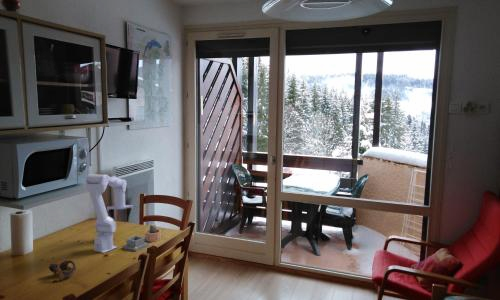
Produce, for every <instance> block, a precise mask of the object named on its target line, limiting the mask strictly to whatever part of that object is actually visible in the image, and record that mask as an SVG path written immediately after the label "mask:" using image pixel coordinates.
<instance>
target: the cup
mask: <svg viewBox="0 0 500 300" xmlns="http://www.w3.org/2000/svg"><path fill="white" fill-rule="evenodd" d="M144 238H145V241H146V242H147V243H154V242H159V241H160V240H161V239H162V231H161V229H159V228H156V233H150V228H149V229H146V230H145V232H144Z"/></svg>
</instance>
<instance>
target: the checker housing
mask: <svg viewBox="0 0 500 300" xmlns="http://www.w3.org/2000/svg"><path fill="white" fill-rule="evenodd" d="M135 240H136V241H135ZM145 241H146V240H145V236H144V237H143V236H139V235H133V236H131V237H128V238H126V243H125V244H123V245H122V249H124V250H128V251H132V252H138V251H140V250H143V249H145V248H147V247H149V246H150V242H147V241H146V242H145Z"/></svg>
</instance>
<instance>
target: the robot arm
mask: <svg viewBox="0 0 500 300" xmlns="http://www.w3.org/2000/svg"><path fill="white" fill-rule="evenodd" d="M127 184H128V183H127V180H126V179H125V178H120V177H117V175H112V176H109V174H99V173H98V174H97V173H95V174H93V173H89V174H88V175H87V176H86V178H85V185H86V188H87V191H88V192H89V196H90V199H91V203H92V205H93V209H94V211H95V214H96V216H97V217H96V218H97V219H96V220H95V221H94V229H95V232H96V233H97V234H98V235H97V236H95V237H94V242H93V243H94V246H93V247H94V249H93V251H94V252H98V253H101V254H104V253H108V252H109V251H113V250H114V249H117V248H118V247H117V246H116V245H114V233H115V232H116V230H117V223H116V221H115V210H116V211H117V210H126V222H128V221H129V218H130V213H131V211H132V210H134V205H133V204H126V189H127V186H128V185H127ZM107 186H109V187H112V189H114V205H111V206H110V205H109V206H107V207H106V205H105V201H104V198H103V196H102V194H103V193H105V191H106V189H107ZM108 213H109V214H108ZM109 215H110V216H109Z"/></svg>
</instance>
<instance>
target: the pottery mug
mask: <svg viewBox="0 0 500 300" xmlns="http://www.w3.org/2000/svg"><path fill="white" fill-rule="evenodd" d="M70 264H72V267H71V266H69V265H70ZM48 269H49V270H50V272H51V273H53V274H54V275H56V274H58V275H59V277H58V280H60V281H63V280H64V279H66V278H68V277H70V276H72V275H73V274H74V273H76V270H77V267H76V264H75V262H74V261H73V260H71V259H64V260H61V261H60V262H59V263H50V264H49V266H48Z"/></svg>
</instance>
